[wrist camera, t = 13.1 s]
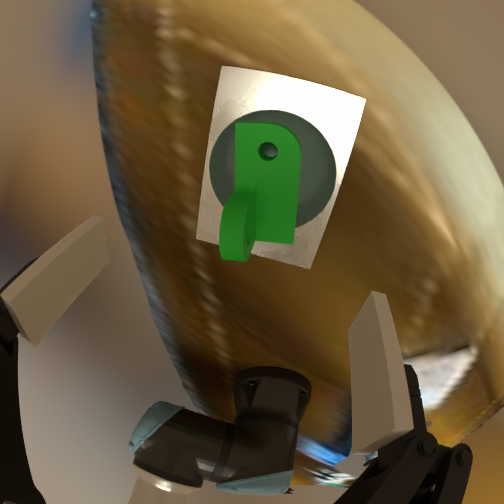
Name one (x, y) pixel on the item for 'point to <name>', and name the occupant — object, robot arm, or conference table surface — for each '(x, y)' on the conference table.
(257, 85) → the carrier plate
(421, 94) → the conference table surface
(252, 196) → the mechanical part
